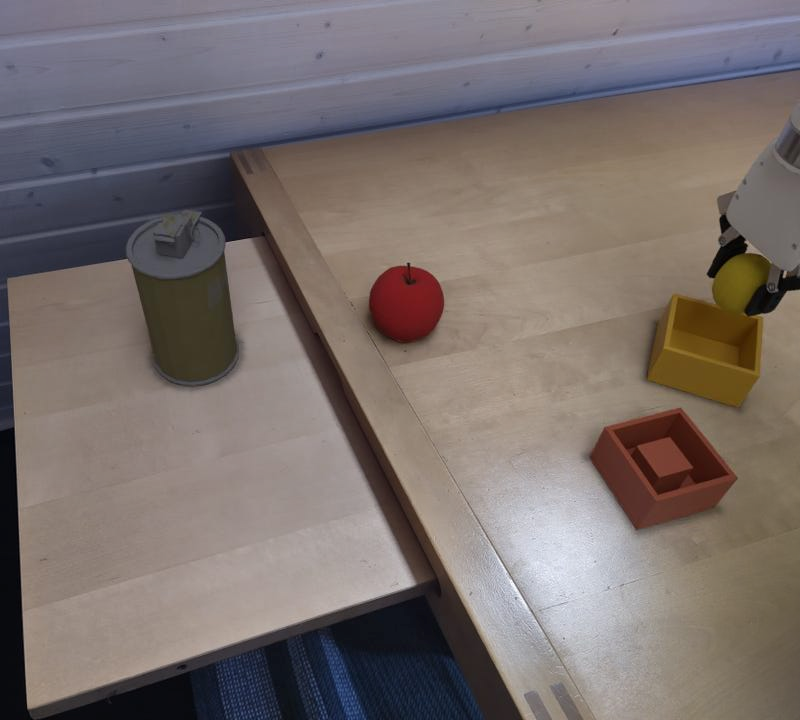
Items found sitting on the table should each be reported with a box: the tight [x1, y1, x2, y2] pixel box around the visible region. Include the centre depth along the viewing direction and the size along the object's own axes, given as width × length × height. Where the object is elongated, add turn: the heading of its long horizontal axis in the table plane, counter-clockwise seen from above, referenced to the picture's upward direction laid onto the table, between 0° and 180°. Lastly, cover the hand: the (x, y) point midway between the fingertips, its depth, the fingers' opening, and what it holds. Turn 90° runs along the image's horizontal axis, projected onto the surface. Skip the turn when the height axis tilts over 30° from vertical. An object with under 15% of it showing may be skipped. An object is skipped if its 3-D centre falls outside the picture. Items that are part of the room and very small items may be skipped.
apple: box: [368, 262, 445, 343], centre depth 87 cm, size 9×9×10 cm
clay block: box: [631, 437, 693, 495], centre depth 74 cm, size 4×4×4 cm
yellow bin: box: [646, 292, 764, 408], centre depth 85 cm, size 10×10×6 cm
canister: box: [125, 209, 240, 387], centre depth 81 cm, size 11×10×20 cm
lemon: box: [711, 252, 772, 314], centre depth 77 cm, size 6×6×8 cm
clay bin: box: [589, 406, 739, 531], centre depth 73 cm, size 9×9×6 cm
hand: (738, 291), depth 78 cm, fingers closed on lemon, 5 cm apart
